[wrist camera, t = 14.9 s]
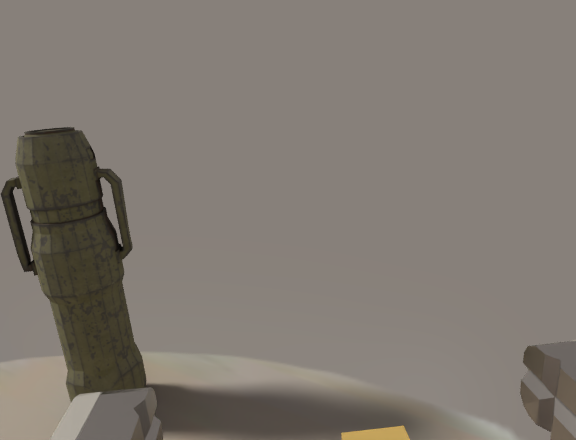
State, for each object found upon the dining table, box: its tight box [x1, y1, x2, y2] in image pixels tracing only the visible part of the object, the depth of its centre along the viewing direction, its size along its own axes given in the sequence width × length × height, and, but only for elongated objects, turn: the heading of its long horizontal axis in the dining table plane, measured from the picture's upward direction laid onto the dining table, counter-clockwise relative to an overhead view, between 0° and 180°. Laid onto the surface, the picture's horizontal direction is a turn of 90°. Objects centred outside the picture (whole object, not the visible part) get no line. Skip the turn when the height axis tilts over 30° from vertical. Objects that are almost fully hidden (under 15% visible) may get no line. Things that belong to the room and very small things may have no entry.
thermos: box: [1, 127, 146, 402], centre depth 50 cm, size 9×12×35 cm
